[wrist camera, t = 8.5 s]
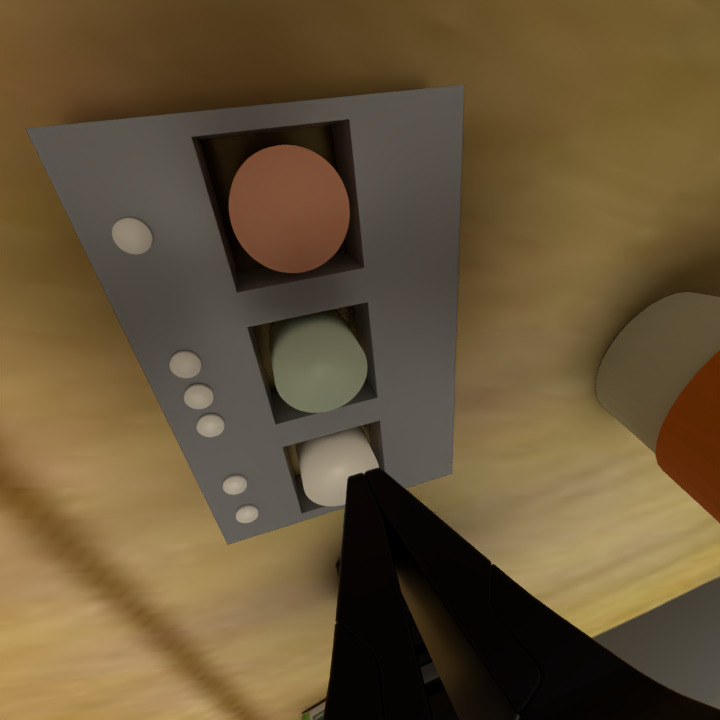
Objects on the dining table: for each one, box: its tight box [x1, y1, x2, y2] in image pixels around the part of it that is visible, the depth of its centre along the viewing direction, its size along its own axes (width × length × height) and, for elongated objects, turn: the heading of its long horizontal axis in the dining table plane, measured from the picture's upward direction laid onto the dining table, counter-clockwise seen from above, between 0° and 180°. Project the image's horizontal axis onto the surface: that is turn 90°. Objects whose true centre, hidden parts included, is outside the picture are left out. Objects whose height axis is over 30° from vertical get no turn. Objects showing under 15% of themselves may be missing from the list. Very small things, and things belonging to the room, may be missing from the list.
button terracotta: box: [229, 145, 350, 273], centre depth 12 cm, size 4×4×3 cm
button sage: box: [269, 309, 367, 413], centre depth 15 cm, size 4×4×3 cm
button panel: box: [25, 85, 464, 545], centre depth 16 cm, size 17×12×3 cm
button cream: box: [295, 426, 379, 506], centre depth 18 cm, size 4×4×3 cm
